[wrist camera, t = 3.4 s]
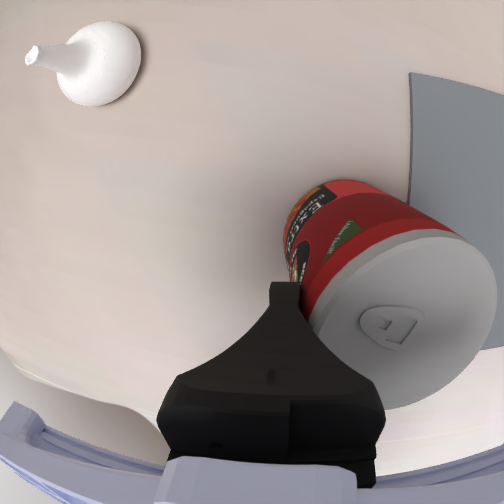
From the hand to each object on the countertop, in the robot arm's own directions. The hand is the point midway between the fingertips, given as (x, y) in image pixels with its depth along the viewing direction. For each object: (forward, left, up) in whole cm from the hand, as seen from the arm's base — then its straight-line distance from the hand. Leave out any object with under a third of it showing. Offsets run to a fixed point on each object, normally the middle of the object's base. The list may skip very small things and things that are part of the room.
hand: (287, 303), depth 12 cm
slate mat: (-1, -16, -9) cm, 19 cm away
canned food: (0, -3, -9) cm, 9 cm away
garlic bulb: (+13, +12, -9) cm, 20 cm away
